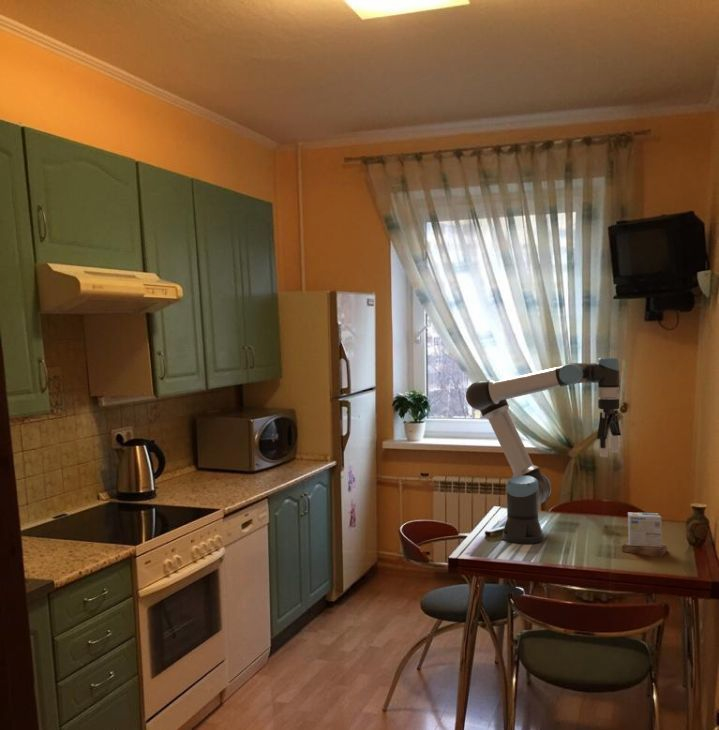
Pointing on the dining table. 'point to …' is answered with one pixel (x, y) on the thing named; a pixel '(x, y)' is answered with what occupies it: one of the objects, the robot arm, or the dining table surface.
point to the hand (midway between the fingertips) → (609, 454)
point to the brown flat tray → (645, 549)
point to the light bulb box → (644, 529)
